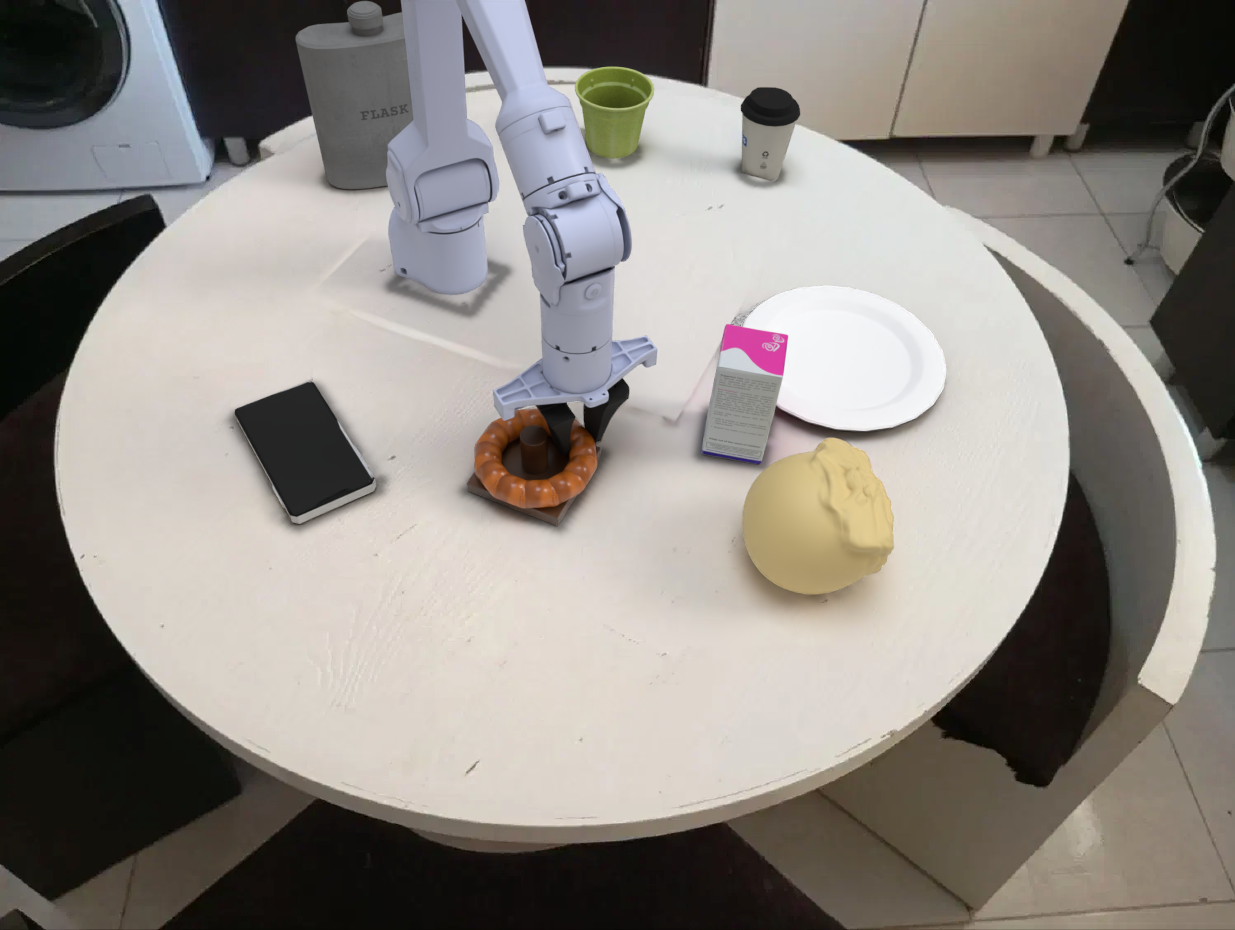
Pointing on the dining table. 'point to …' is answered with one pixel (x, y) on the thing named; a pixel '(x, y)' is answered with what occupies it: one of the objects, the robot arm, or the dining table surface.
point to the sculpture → (818, 519)
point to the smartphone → (304, 452)
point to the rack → (531, 469)
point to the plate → (852, 358)
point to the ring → (532, 490)
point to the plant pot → (613, 109)
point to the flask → (357, 92)
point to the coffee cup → (767, 131)
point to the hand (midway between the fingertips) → (576, 441)
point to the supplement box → (744, 393)
